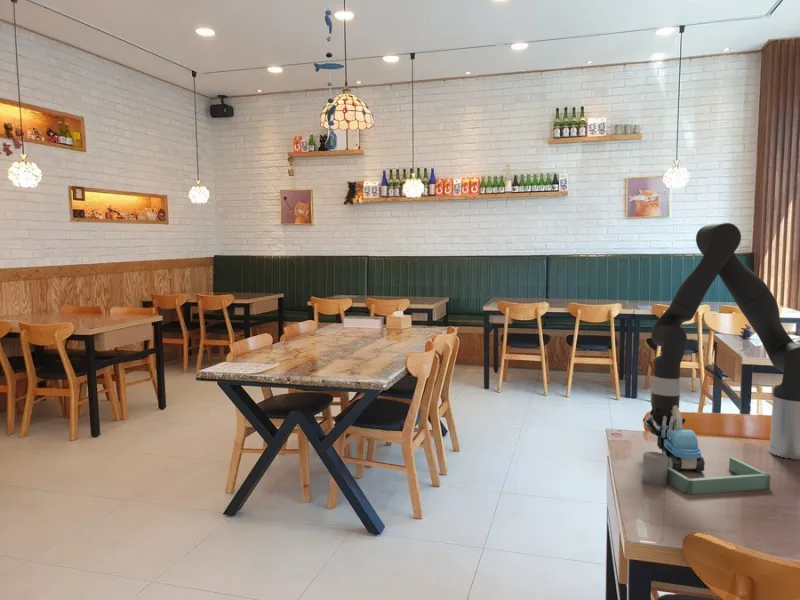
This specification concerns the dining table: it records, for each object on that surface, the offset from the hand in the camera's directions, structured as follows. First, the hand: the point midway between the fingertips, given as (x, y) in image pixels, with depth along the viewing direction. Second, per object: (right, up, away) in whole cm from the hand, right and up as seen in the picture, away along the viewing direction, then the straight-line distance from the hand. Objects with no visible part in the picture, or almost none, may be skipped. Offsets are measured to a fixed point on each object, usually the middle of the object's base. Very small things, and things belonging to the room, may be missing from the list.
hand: (662, 449), depth 174 cm
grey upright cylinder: (-11, -3, -21) cm, 24 cm away
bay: (+4, -3, -20) cm, 20 cm away
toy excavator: (+1, -2, -7) cm, 8 cm away
